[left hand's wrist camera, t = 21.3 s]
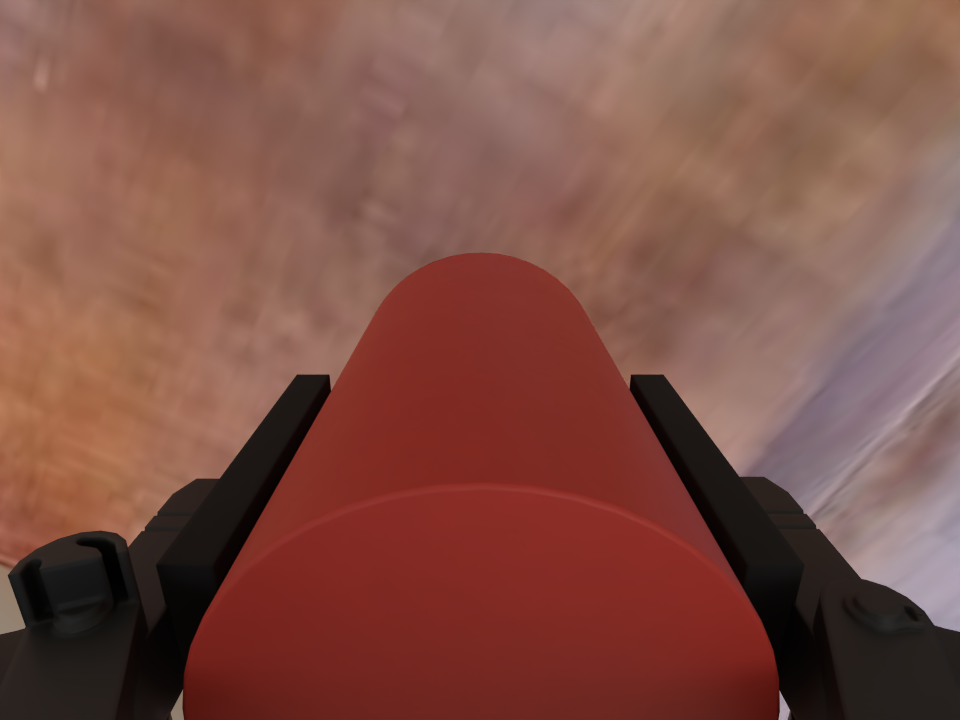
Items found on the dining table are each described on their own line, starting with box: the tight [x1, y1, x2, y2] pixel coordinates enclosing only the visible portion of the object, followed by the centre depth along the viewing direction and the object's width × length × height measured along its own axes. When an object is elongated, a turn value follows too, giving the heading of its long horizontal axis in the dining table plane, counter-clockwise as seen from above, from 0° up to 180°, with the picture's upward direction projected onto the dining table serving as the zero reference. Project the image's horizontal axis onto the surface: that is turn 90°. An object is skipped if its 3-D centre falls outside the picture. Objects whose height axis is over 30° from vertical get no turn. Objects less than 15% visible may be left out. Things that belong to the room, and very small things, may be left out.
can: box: [183, 253, 780, 720], centre depth 13 cm, size 7×7×12 cm
